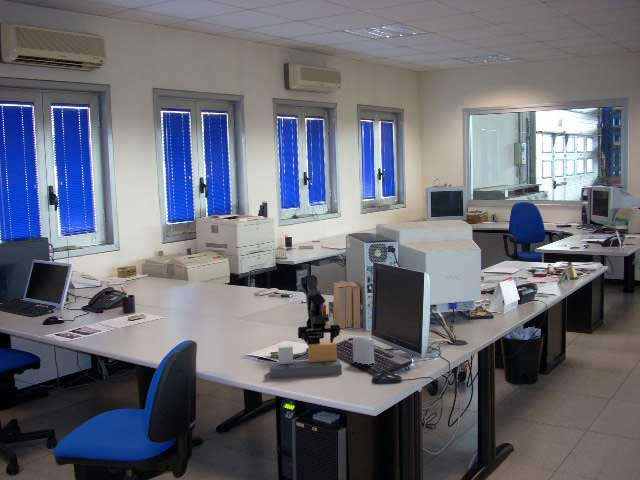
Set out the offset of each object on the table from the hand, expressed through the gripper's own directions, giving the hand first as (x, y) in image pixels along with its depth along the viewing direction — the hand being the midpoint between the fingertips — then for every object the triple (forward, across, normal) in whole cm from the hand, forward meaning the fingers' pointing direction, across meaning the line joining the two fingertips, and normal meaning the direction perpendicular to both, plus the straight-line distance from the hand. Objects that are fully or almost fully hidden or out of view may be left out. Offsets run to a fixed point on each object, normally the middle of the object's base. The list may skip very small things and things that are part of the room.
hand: (320, 347), depth 302 cm
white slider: (+7, -16, -1) cm, 18 cm away
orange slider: (+7, 0, -1) cm, 7 cm away
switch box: (+12, -8, 0) cm, 14 cm away
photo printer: (+6, +19, +6) cm, 21 cm away
